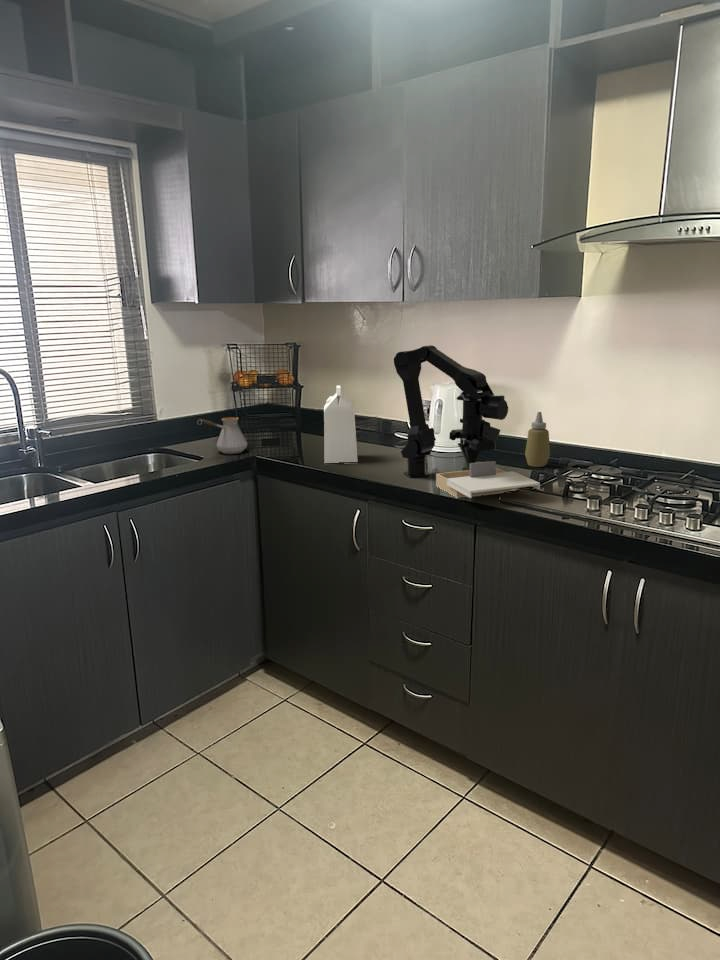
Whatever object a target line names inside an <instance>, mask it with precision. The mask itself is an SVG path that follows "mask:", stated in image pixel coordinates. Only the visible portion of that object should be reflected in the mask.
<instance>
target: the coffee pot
mask: <svg viewBox="0 0 720 960" xmlns="http://www.w3.org/2000/svg"><path fill="white" fill-rule="evenodd" d="M239 420H240V418H239V417H237V416H236V417H234V416H229V417H223V418H221V420H220V421H222V425H221V424H219V423H215V422H212V421H210V420H206V419H203V418H199V419H197V424H198V425H201V424H207V425H210V426H214V427H217V428H221V431H220V434H219V437H218V440H217V443H216V448H217V450H219V451H220V452H221V454H225V455H233V454H235V455H236V454H241V453H242V452H244V450H245V449H246V448H247V447H248V442H247V440H246V438H245V436H244V434H243V432H242V430H241V428H240V426H239V424H238V421H239ZM199 421H200V424H199Z"/></svg>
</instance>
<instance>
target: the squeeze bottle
mask: <svg viewBox="0 0 720 960" xmlns="http://www.w3.org/2000/svg"><path fill="white" fill-rule="evenodd" d="M543 420H544V419H543V414H542V411H538V412H537V414H536V417H535V420H534V421H533V422H531V428H530V429H529V430H528V432H527V437H526V445H525V450H524V451H525V452H524V456H525V459H526V462H527V465H528V466H530V467H534V468H542V467H546V466H547V464H548V461H549V459H550V456H551V451H550V450H551V449H550V431H549V430H548V429H547V423H546V422H544V421H543ZM545 465H546V466H545Z"/></svg>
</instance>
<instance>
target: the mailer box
mask: <svg viewBox="0 0 720 960" xmlns="http://www.w3.org/2000/svg"><path fill="white" fill-rule="evenodd" d="M502 472H506V471H505V470H502V469H500V468H498V467H496V473H502ZM465 476H469V469H468V470H467V469H466V470H457V471H450V472H449V471H447V472H440V473H436V474H435V487H436V486H437V487H436V488H438V487H439V488H440V490H441V489H442V490H441V491H443V490H444V491H443V492H445V491H446V492H448V493H449V495H450V494H451V495H450V496H452V495H453V496H455V497H456V498H455V497H454V498H455V499H457V498H458V499H460V498H459V497H466V498H468V497H467V496H466V495H464V494H462V493H460V492H458V491H457V490H455V489H453V488H451V487H449V486H448V485H447V478H456V477H465ZM439 488H438V489H439ZM512 489H516V488H510V489H502V490H493V491H485V492H477V493H472V496H474V497H482V495H483V496H489V495H490V496H491V495H497V494H498V495H499V494H505V493H504V492H507V491H510V490H512ZM446 492H445V493H446ZM448 493H447V494H448ZM507 493H508V492H507ZM453 496H452V497H453Z"/></svg>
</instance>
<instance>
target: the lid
mask: <svg viewBox="0 0 720 960" xmlns="http://www.w3.org/2000/svg"><path fill="white" fill-rule="evenodd" d="M468 468H469V469H468V470H469V476H465V477H456V478H447V485H448V486H449V487H451V488H453V489H455V490H457V491H458V492H460V493H462V494H464V495H466V496H467V497H466V498H469V499H472V498H473V497H472V493H477V492H485V491H493V490H502V489H510V488H519V489H520V488H526V487H531V488H533V489H536V490H540V489H541V483H540V482H539V481H537V480H534V479H531V478H529V477H527V476H525V475H522V474H520V473H518V472H516V471H505V472H502V473H496V468H497V462H496V460H490V461H487V460H486V461H480V462H479V461H477V462H475V463H470V466H469V467H468Z"/></svg>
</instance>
